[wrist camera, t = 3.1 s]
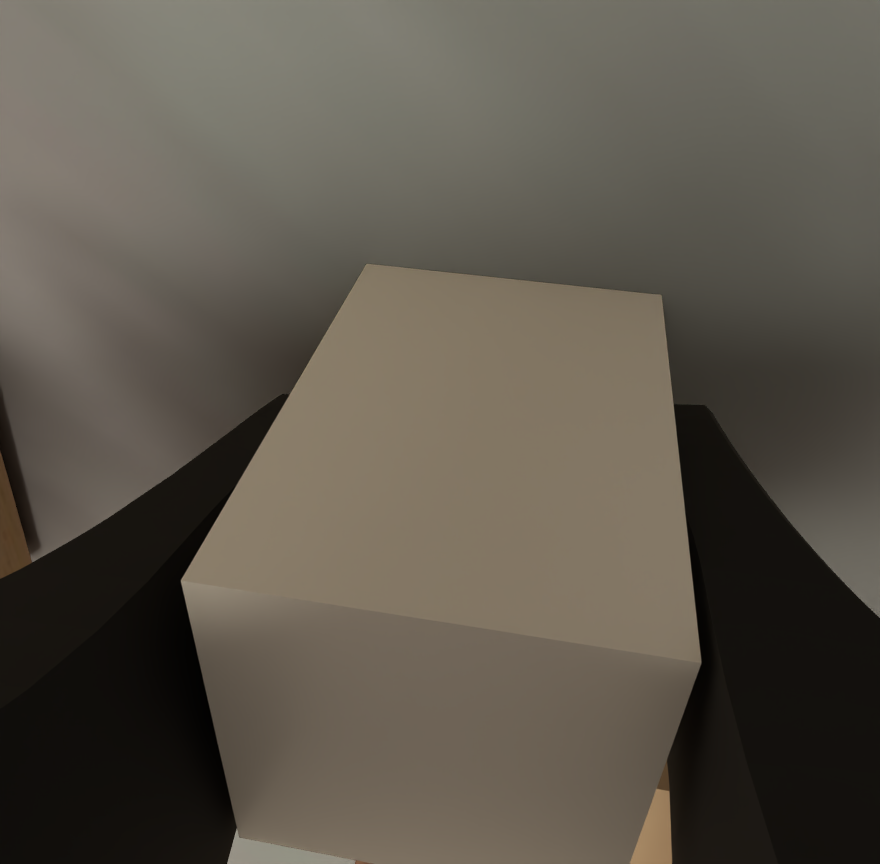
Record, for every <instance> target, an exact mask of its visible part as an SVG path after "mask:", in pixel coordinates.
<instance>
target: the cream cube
mask: <svg viewBox="0 0 880 864" xmlns="http://www.w3.org/2000/svg"><path fill="white" fill-rule="evenodd" d="M181 584H182V588H183V593H184V597H185V601H186V606H187V610H188V615H189V619H190V623H191V628H192V632H193V637H194V641H195V645H196V650H197V654H198V659H199V663H200V667H201V672H202V676H203V681H204V685H205V689H206V694H207V698H208V703H209V707H210V711H211V716H212V720H213V725H214V729H215V733H216V738H217V742H218V746H219V751H220V755H221V760H222V764H223V768H224V773H225V777H226V782H227V786H228V790H229V795H230V799H231V804H232V808H233V812H234V817H235V821H236V826H237V830H238V834H239V837H240V838H245V839H250V840H255V841H260V842H266V843H271V844H276V845H281V846H286V847H291V848H296V849H301V850H306V851H311V852H317V853H322V854H327V855H332V856H337V857H342V858H347V859H352V860H357V861H362V862H368V863H373V864H630V861H631V859H632V856H633V853H634V850H635V847H636V845H637V842H638V839H639V836H640V833H641V831H642V828H643V825H644V822H645V819H646V817H647V814H648V811H649V808H650V805H651V803H652V800H653V797H654V794H655V791H656V789H657V786H658V783H659V780H660V777H661V775H662V772H663V769H664V766H665V764H666V761H667V758H668V755H669V752H670V750H671V747H672V744H673V741H674V738H675V736H676V733H677V730H678V727H679V724H680V722H681V719H682V716H683V713H684V710H685V708H686V705H687V702H688V699H689V696H690V694H691V691H692V688H693V685H694V682H695V680H696V677H697V674H698V671H699V668H700V666H701V654H700V645H699V636H698V626H697V617H696V608H695V599H694V589H693V580H692V571H691V562H690V552H689V543H688V534H687V525H686V515H685V506H684V497H683V488H682V478H681V469H680V460H679V451H678V441H677V432H676V423H675V414H674V405H673V395H672V386H671V377H670V368H669V358H668V349H667V340H666V331H665V321H664V312H663V303H662V295H657V294H647V293H638V292H628V291H619V290H610V289H600V288H591V287H581V286H572V285H563V284H553V283H544V282H534V281H525V280H515V279H506V278H497V277H487V276H478V275H468V274H459V273H450V272H440V271H431V270H421V269H412V268H402V267H393V266H384V265H374V264H366V265H365V267H364V269H363V271H362V272H361V274H360V276H359V277H358V279H357V281H356V282H355V284H354V286H353V288H352V289H351V291H350V293H349V294H348V296H347V298H346V300H345V301H344V303H343V305H342V306H341V308H340V310H339V311H338V313H337V315H336V317H335V318H334V320H333V322H332V323H331V325H330V327H329V329H328V330H327V332H326V334H325V335H324V337H323V339H322V340H321V342H320V344H319V346H318V347H317V349H316V351H315V352H314V354H313V356H312V358H311V359H310V361H309V363H308V364H307V366H306V368H305V369H304V371H303V373H302V375H301V376H300V378H299V380H298V381H297V383H296V385H295V387H294V388H293V390H292V392H291V393H290V395H289V397H288V398H287V400H286V402H285V404H284V405H283V407H282V409H281V410H280V412H279V414H278V416H277V417H276V419H275V421H274V422H273V424H272V426H271V427H270V429H269V431H268V433H267V434H266V436H265V438H264V439H263V441H262V443H261V445H260V446H259V448H258V450H257V451H256V453H255V455H254V456H253V458H252V460H251V462H250V463H249V465H248V467H247V468H246V470H245V472H244V474H243V475H242V477H241V479H240V480H239V482H238V484H237V485H236V487H235V489H234V491H233V492H232V494H231V496H230V497H229V499H228V501H227V503H226V504H225V506H224V508H223V509H222V511H221V513H220V514H219V516H218V518H217V520H216V521H215V523H214V525H213V526H212V528H211V530H210V532H209V533H208V535H207V537H206V538H205V540H204V542H203V543H202V545H201V547H200V549H199V550H198V552H197V554H196V555H195V557H194V559H193V561H192V562H191V564H190V566H189V567H188V569H187V571H186V572H185V574H184V576H183V578H182V579H181Z"/></svg>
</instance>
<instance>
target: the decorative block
mask: <svg viewBox="0 0 880 864" xmlns="http://www.w3.org/2000/svg"><path fill="white" fill-rule="evenodd" d="M30 563H32V561H31V558H30V554H29V550H28V547H27V543H26V540H25V536H24V533H23V529H22V526H21V522H20V519H19V515H18V511H17V508H16V504H15V501H14V497H13V494H12V490H11V487H10V483H9V480H8V476H7V472H6V469H5V465H4V462H3V458H2V455H1V451H0V579H1V578H3V577H5V576H7V575H9V574H11V573H13V572H15V571H17V570H19V569H21V568H23V567H25V566H27V565H29V564H30Z"/></svg>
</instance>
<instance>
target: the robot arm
mask: <svg viewBox="0 0 880 864" xmlns="http://www.w3.org/2000/svg"><path fill="white" fill-rule="evenodd" d="M288 397H289V394H282V395H281V396H279V397H277V398H276V399H274V400H273V401H271V402H270V403H268V404H267V405H265V406H264V407H263V408H261V409H260V410H258V411H257V412H256V413H254V414H253V415H252V416H250V417H249V418H248V419H246V420H245V421H244V422H242V423H241V424H240V425H238V426H237V427H236V428H234V429H233V430H232V431H230V432H229V433H228V434H226V435H225V436H224V437H222V438H221V439H220V440H218V441H217V442H216V443H214V444H213V445H212V446H210V447H209V448H208V449H206V450H205V451H204V452H202V453H201V454H200V455H198V456H197V457H196V458H194V459H193V460H192V461H190V462H189V463H187V464H186V465H185V466H183V467H182V468H181V469H179V470H178V471H177V472H175V473H174V474H173V475H171V476H170V477H168V478H167V479H165V480H164V481H162V482H161V483H159V484H158V485H156V486H155V487H153V488H152V489H151V490H149V491H148V492H146V493H145V494H143V495H142V496H140V497H139V498H137V499H136V500H134V501H133V502H131V503H130V504H128V505H127V506H125V507H124V508H123V509H121V510H120V511H118V512H117V513H115V514H114V515H112V516H111V517H109V518H108V519H106V520H104V521H103V522H101V523H100V524H98V525H96V526H95V527H93V528H92V529H90V530H88V531H87V532H85V533H83V534H82V535H80V536H78V537H77V538H75V539H73V540H71V541H70V542H68V543H66V544H64V545H63V546H61V547H59V548H57V549H56V550H54V551H52V552H50V553H48V554H47V555H45V556H43V557H41V558H40V559H38V560H36V561H34V562H32V563H30V564H29V565H27V566H25V567H23V568H21V569H19V570H17V571H15V572H13V573H11V574H9V575H7V576H5V577H3V578H1V579H0V864H227V862H228V858H229V854H230V851H231V847H232V843H233V840H234V836H235V832H236V829H237V826H236V821H235V817H234V812H233V808H232V804H231V799H230V795H229V790H228V786H227V782H226V777H225V773H224V768H223V764H222V760H221V755H220V751H219V746H218V742H217V738H216V733H215V729H214V725H213V720H212V716H211V711H210V707H209V703H208V698H207V694H206V689H205V685H204V681H203V676H202V672H201V667H200V663H199V659H198V654H197V650H196V645H195V641H194V637H193V632H192V628H191V623H190V619H189V615H188V610H187V606H186V601H185V597H184V593H183V588H182V584H181V579H182V578H183V576H184V574H185V572H186V571H187V569H188V567H189V566H190V564H191V562H192V561H193V559H194V557H195V555H196V554H197V552H198V550H199V549H200V547H201V545H202V543H203V542H204V540H205V538H206V537H207V535H208V533H209V532H210V530H211V528H212V526H213V525H214V523H215V521H216V520H217V518H218V516H219V514H220V513H221V511H222V509H223V508H224V506H225V504H226V503H227V501H228V499H229V497H230V496H231V494H232V492H233V491H234V489H235V487H236V485H237V484H238V482H239V480H240V479H241V477H242V475H243V474H244V472H245V470H246V468H247V467H248V465H249V463H250V462H251V460H252V458H253V456H254V455H255V453H256V451H257V450H258V448H259V446H260V445H261V443H262V441H263V439H264V438H265V436H266V434H267V433H268V431H269V429H270V427H271V426H272V424H273V422H274V421H275V419H276V417H277V416H278V414H279V412H280V410H281V409H282V407H283V405H284V404H285V402H286V400H287V398H288ZM673 405H674V414H675V423H676V432H677V441H678V451H679V460H680V469H681V478H682V488H683V497H684V506H685V515H686V525H687V534H688V543H689V552H690V562H691V571H692V580H693V589H694V599H695V608H696V617H697V626H698V636H699V645H700V654H701V666H700V668H699V671H698V674H697V677H696V680H695V682H694V685H693V688H692V691H691V694H690V696H689V699H688V702H687V705H686V708H685V710H684V713H683V716H682V719H681V722H680V724H679V727H678V730H677V733H676V736H675V738H674V741H673V744H672V747H671V750H670V752H669V755H668V758H667V766H668V777H669V793H670V820H671V847H672V864H880V618H879V617H878V616H877V615H876V614H875V613H874V612H873V611H872V610H871V609H870V608H869V607H867V606H866V605H865V604H864V603H863V602H862V601H861V600H860V599H859V598H858V597H857V596H856V595H855V594H854V593H853V592H852V591H851V590H850V589H849V588H848V587H847V586H846V585H845V584H844V582H843V581H842V580H841V579H840V578H839V577H838V576H837V575H836V574H835V573H834V572H833V571H832V570H831V569H830V568H829V567H828V565H827V564H826V563H825V562H824V561H823V560H822V559H821V558H820V557H819V555H818V554H817V553H816V552H815V551H814V550H813V549H812V548H811V546H810V545H809V544H808V543H807V542H806V541H805V540H804V539H803V537H802V536H801V535H800V534H799V533H798V531H797V530H796V529H795V528H794V527H793V525H792V524H791V523H790V522H789V521H788V519H787V518H786V517H785V516H784V514H783V513H782V512H781V511H780V509H779V508H778V507H777V505H776V504H775V503H774V502H773V500H772V499H771V498H770V496H769V495H768V494H767V493H766V491H765V490H764V489H763V488H762V486H761V485H760V484H759V482H758V481H757V479H756V478H755V477H754V475H753V474H752V473H751V471H750V470H749V468H748V467H747V466H746V464H745V463H744V461H743V460H742V458H741V457H740V456H739V454H738V453H737V451H736V450H735V448H734V447H733V445H732V444H731V442H730V441H729V439H728V438H727V436H726V434H725V433H724V431H723V430H722V428H721V426H720V425H719V423H718V422H717V420H716V418H715V416H714V415H713V413H712V412H711V411H710V410H709V409H708V408H707V407H706V406H705V405H677V404H673Z"/></svg>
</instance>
